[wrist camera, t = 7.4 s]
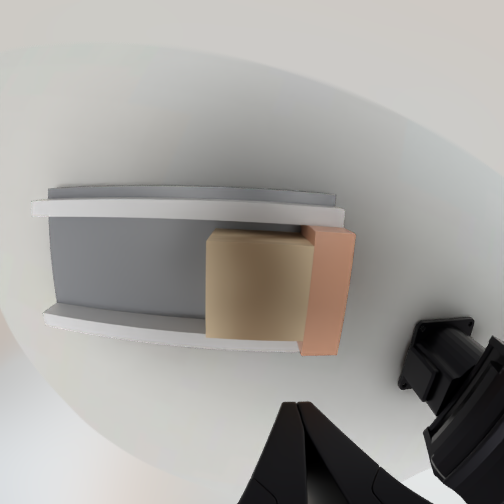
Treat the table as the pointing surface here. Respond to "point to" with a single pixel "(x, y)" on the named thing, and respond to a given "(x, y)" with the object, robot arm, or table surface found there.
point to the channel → (182, 260)
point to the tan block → (257, 284)
